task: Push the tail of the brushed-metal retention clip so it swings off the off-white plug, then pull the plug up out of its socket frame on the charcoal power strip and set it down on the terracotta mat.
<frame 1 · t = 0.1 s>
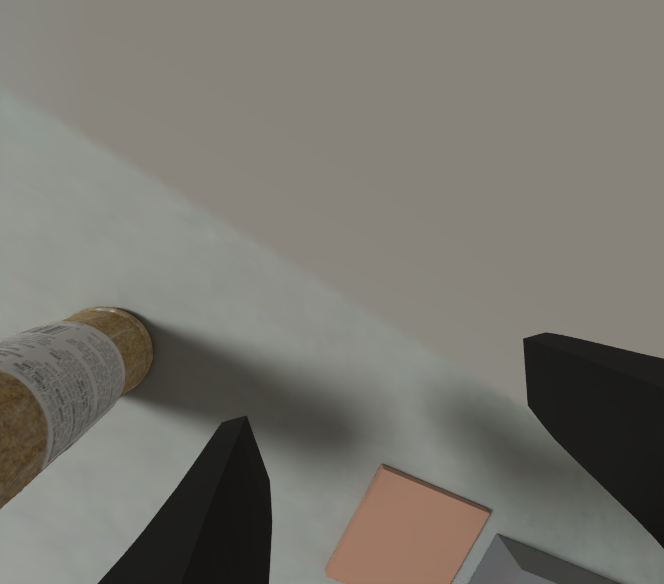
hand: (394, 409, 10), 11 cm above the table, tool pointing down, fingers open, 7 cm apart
mat: (406, 537, 22), on the table
sprinkles bottle: (111, 347, 19), on the table
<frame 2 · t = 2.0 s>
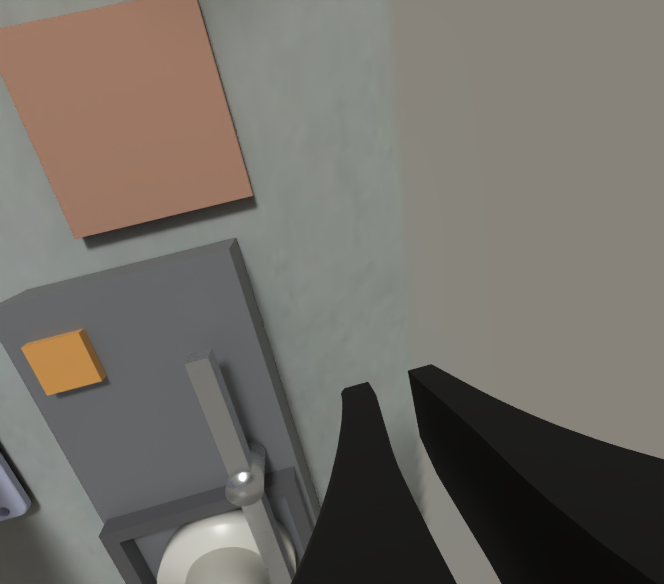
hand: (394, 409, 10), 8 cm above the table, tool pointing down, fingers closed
power strip: (211, 454, 19), on the table
clip: (259, 504, 16), point 4 cm above the table, hinge at 0.0°
mat: (135, 123, 14), on the table
plug: (230, 559, 18), point 3 cm above the table, touching power strip
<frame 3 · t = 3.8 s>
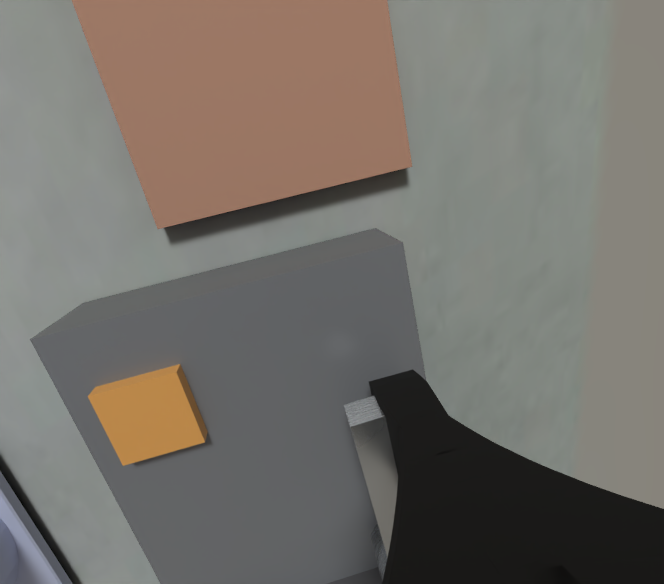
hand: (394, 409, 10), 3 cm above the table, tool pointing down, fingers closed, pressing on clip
power strip: (315, 518, 14), on the table
mat: (251, 56, 10), on the table
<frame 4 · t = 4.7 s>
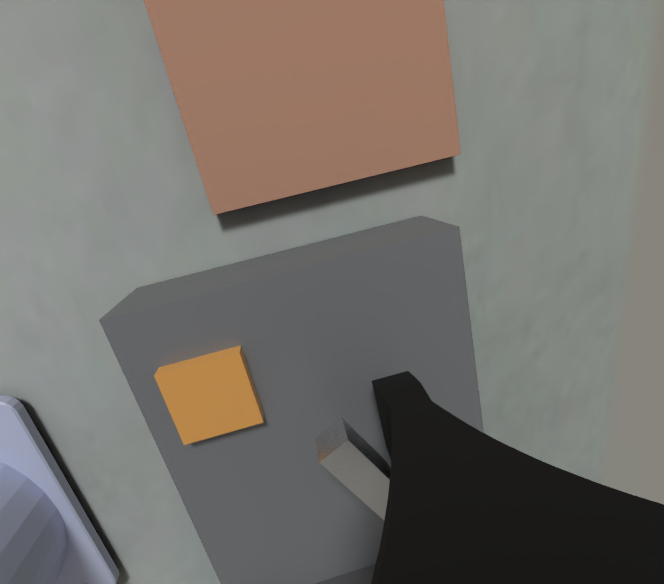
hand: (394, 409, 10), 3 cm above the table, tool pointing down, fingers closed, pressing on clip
power strip: (352, 504, 14), on the table
clip: (484, 576, 11), point 4 cm above the table, hinge at 26.5°, touching gripper
mat: (307, 45, 10), on the table
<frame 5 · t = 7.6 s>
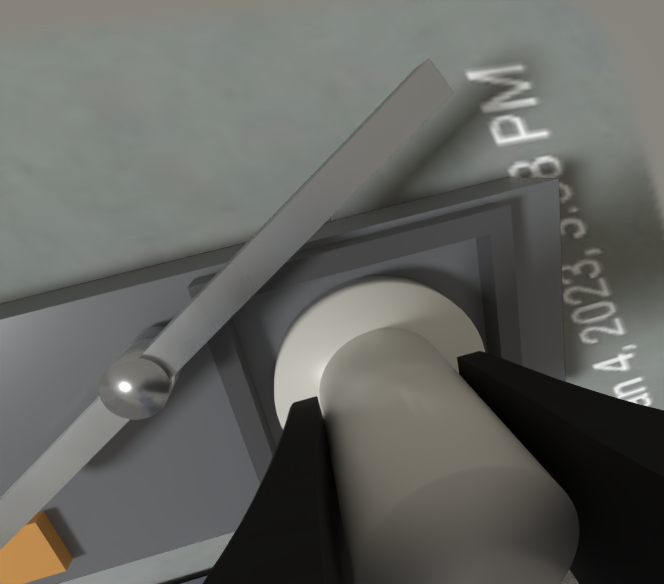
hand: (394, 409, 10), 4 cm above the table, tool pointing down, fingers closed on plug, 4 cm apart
power strip: (250, 367, 14), on the table
clip: (197, 318, 9), point 4 cm above the table, hinge at 31.2°
plug: (376, 372, 11), point 3 cm above the table, touching gripper, power strip
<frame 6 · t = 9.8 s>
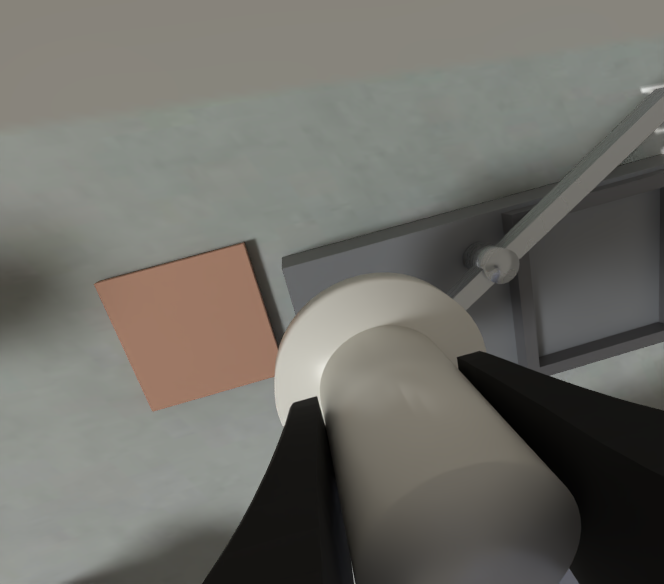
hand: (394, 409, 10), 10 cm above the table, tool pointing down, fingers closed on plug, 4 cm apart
power strip: (486, 284, 21), on the table
clip: (521, 231, 16), point 4 cm above the table, hinge at 31.2°
mat: (197, 327, 19), on the table
plug: (376, 370, 11), point 9 cm above the table, touching gripper
when the fingers open (3 cm above the table, at t = 12.0 s): plug drops 1 cm, resting on mat.
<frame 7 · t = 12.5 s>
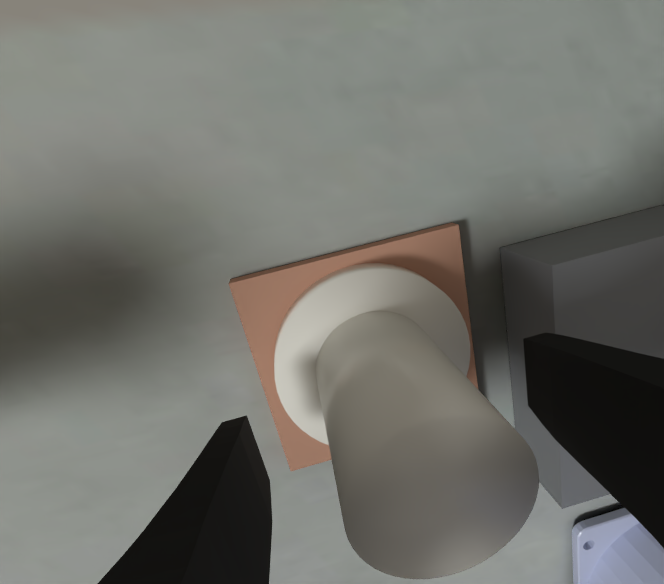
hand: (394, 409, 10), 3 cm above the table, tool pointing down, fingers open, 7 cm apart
mat: (365, 350, 13), on the table
plug: (368, 353, 12), resting on mat
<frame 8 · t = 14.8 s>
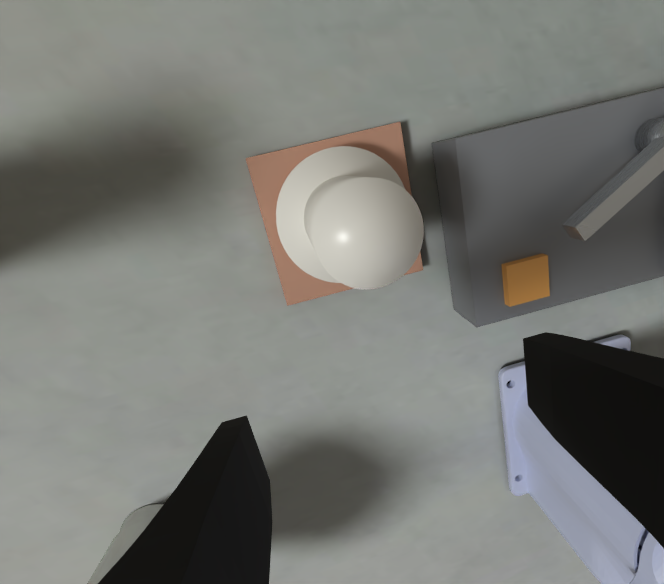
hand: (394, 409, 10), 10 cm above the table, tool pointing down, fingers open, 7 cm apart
power strip: (626, 185, 20), on the table
cup with straw: (167, 531, 23), on the table
mat: (339, 217, 18), on the table
plug: (340, 215, 18), resting on mat
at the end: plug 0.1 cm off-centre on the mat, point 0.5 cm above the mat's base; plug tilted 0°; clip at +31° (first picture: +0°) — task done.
